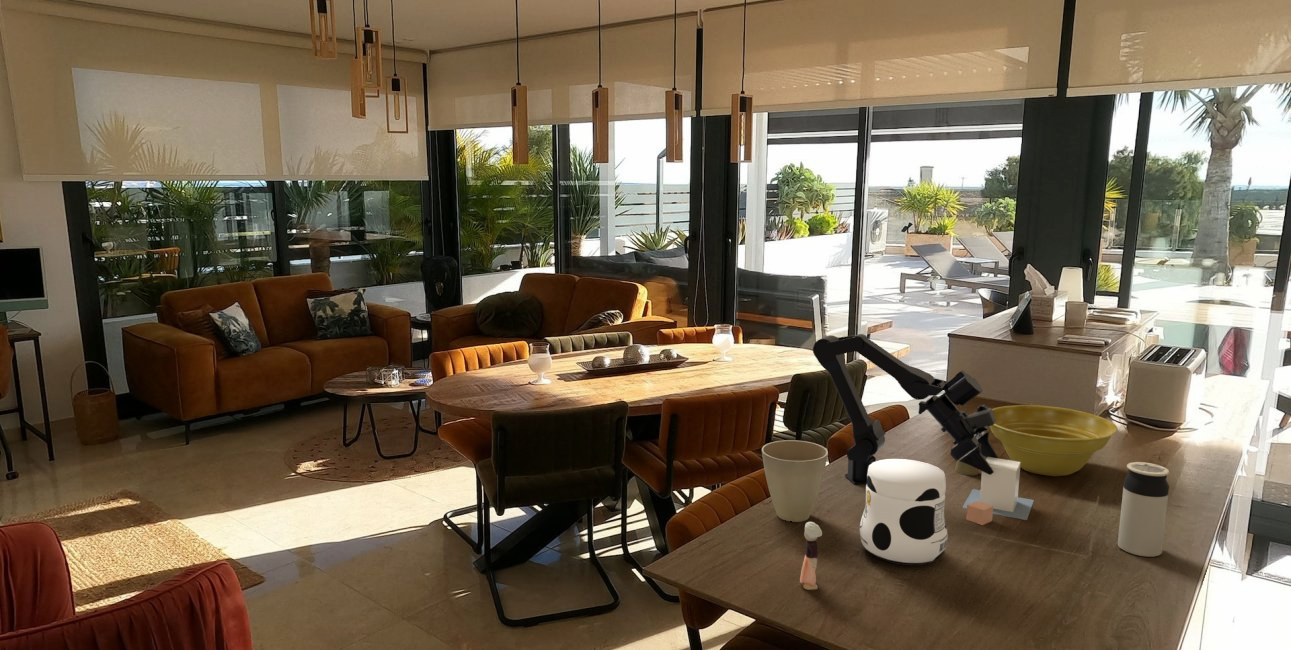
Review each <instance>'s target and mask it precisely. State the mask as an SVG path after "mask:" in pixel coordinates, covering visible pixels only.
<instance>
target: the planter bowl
mask: <svg viewBox="0 0 1291 650" xmlns="http://www.w3.org/2000/svg"><path fill="white" fill-rule="evenodd" d="M991 409H992V410H993V411H994V416H995V418H996V421H995V424H994V425H991V426H989V430H990V432H991V433H992V435H994V437H995V438H996V439H998V440H999V441H1000V442H1001V443H1002V445H1003V448H1004V450H1005V452H1006V454H1007V456H1008V457H1009V460H1011V461H1017V462H1021V463H1020V469H1021V468H1022V469H1021V470H1023V469H1024V471H1025V472H1029V473H1033V474H1037V475H1044V476H1049V477H1052V476H1053V477H1054V476H1055V477H1061V476H1064V477H1065V476H1069V475H1072V474H1074V473H1076V472H1078V471H1080V470H1081V469H1082V468H1083V467H1084V466H1085V465H1086V464H1087V463H1088V461H1089V460H1090V459H1091V458H1092V457H1093V456H1092V455H1094V453H1096V452H1097V451H1100V450H1101V449H1103V448H1105V447H1106V445H1107V444H1108V442H1109V441H1110V439H1111V437H1113V436H1114V435H1116V434H1117V433H1118V430H1119V429H1118V427H1117V425H1116V424H1115V423H1113V422H1112V421H1110V420H1109V419H1106V418H1104V417H1102V416H1099V415H1095V414H1092V413H1089V412H1085V411H1080V410H1076V409H1072V408H1065V407H1057V406H1047V405H1035V404H1033V405H1030V404H1027V405H1026V404H1022V405H1021V404H1020V405H1016V404H1015V405H1005V406H999V407H994V408H991Z"/></svg>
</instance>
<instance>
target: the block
mask: <svg viewBox="0 0 1291 650" xmlns="http://www.w3.org/2000/svg"><path fill="white" fill-rule="evenodd" d="M993 516H994V514H993V506H991V505H988V504H985V503H982V502H979V501H976V502H973V503H971V504H968V505H967V509H966V517H965V519H966V521H969V522H972V523H975V524H978V525H981V526H984V525H986V524H988V523H991V522H993Z"/></svg>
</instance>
